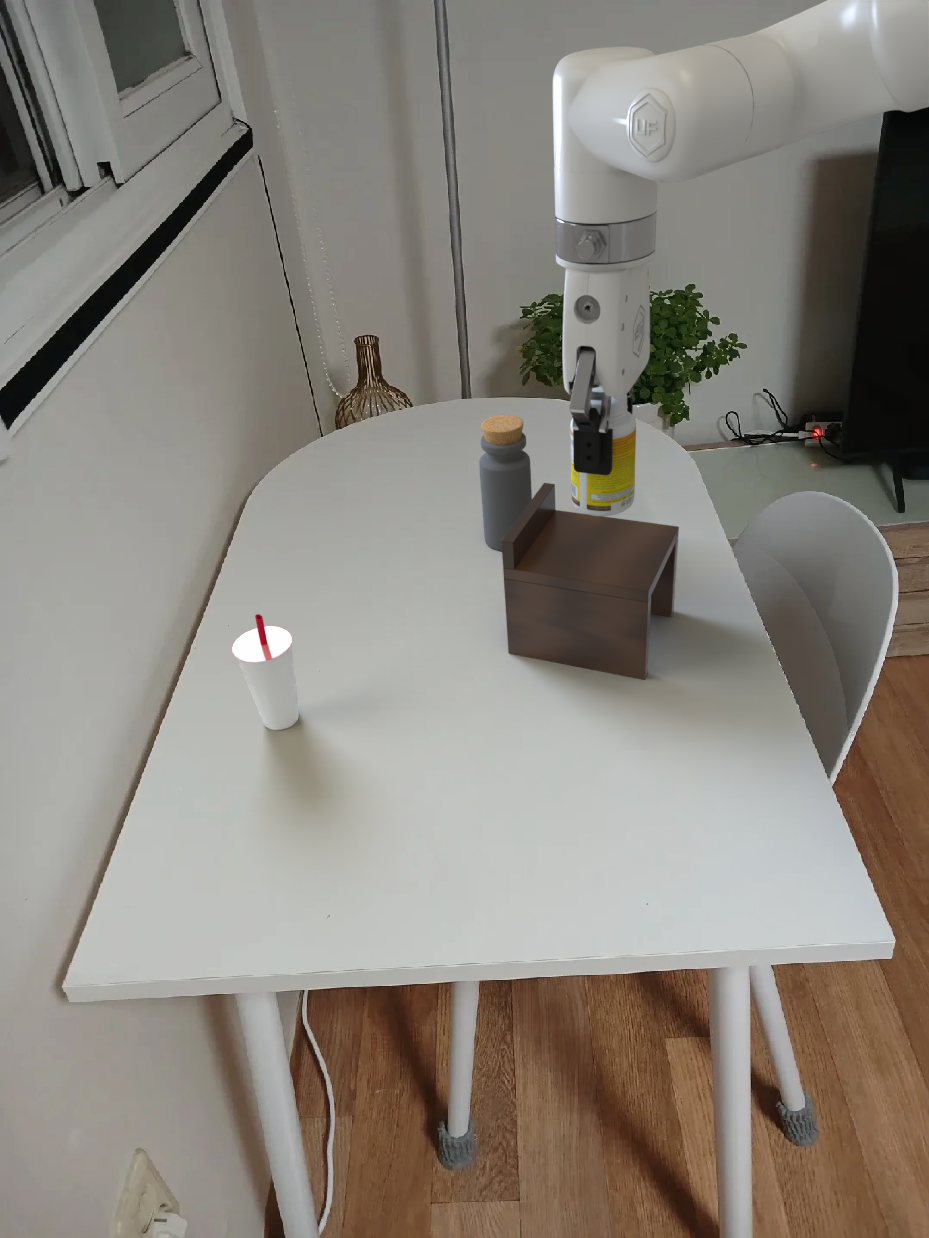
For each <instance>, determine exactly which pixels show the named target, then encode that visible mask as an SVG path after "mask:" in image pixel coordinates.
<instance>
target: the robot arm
mask: <svg viewBox="0 0 929 1238" xmlns="http://www.w3.org/2000/svg"><path fill="white" fill-rule="evenodd" d="M927 108H929V0H825V1H823V2H821V3H818V4H817V5H814V6H811V7H809V8H807V9H805V10H804V11H801V12H799V13H796V14H795V15H792V16H790V17H787V18H785V19H783V20H780V21H779V22H776V23H773V24H772V25H770V26H767V27H764V28H762V29H760V30H757V31H754V32H753V33H749V34H745V35H741V36H735V37H730V38H726V39H721V40H717V41H713V42H712V41H711V42H708V43H702V44H699V45H696V46H691V47H687V48H683V49H679V50H674V51H668V52H665V53H660V54H655V53H654V51H652V50H649V49H647V48H645V47H637V46H612V47H611V46H608V47H607V46H606V47H598V48H597V47H596V48H590V49H589V48H588V49H584V50H579V51H575V52H572V53H569V54H567V55H565V56H564V57H562V58H561V59H560V60H559V61H558V62H557V64H556V66H555V67H554V71H553V76H552V127H553V128H552V129H553V130H552V131H553V132H552V133H553V135H552V136H553V177H554V178H553V182H554V222H555V223H554V224H555V227H554V228H555V229H554V230H555V231H554V232H555V263H557V265H559V266H560V267H563V268H564V269H565V275H564V291H563V306H562V307H563V309H562V310H563V311H562V345H561V347H562V352H561V353H562V355H561V357H562V378H563V387H564V391H565V392H566V393H567V394H568V395H569V396H570V400H569V406H568V407H569V409H568V410H569V413H570V414H571V418H573V425H572V427H573V449H574V470H575V471H576V472H581V473H590V474H598V475H609V474H610V473H611V471H612V453H613V429H608V428H609V419H610V409H611V399H612V397H614V399H621V398H622V397H624V396H625V395H626V394H627V406H628V408H627V411H628V412H630V413H631V414H632V415H633V409H634V405H633V404H634V398H633V397H632V396H633V392H634V385H635V384H636V382H637V380H638V379H639V377H640V376H641V375H642V373H643V371H644V370H645V369H646V366H647V365H648V363H649V360H650V356H651V308H650V307H651V298H650V297H651V295H650V294H651V293H650V291H651V290H650V289H651V288H650V268H649V263H650V262H652V261H653V260H654V259H655V257H656V233H657V212H658V211H657V208H658V207H657V206H658V205H657V204H658V183H668V184H670V183H673V184H674V183H681V182H686V181H689V180H693V179H696V178H698V177H701V176H705V175H707V174H710V173H713V172H716V171H718V170H720V169H722V168H726V167H728V166H731V165H735V164H737V163H740V162H743V161H746V160H749V159H752V158H756V157H758V156H762V155H764V154H768V153H769V152H772V151H775V150H778V149H780V148H783V147H786V146H790V145H792V144H794V143H797V142H799V141H803V140H807V139H808V138H811V137H815V136H817V135H820V134H822V133H823V134H824V133H826V132H828V131H831V130H834V129H837V128H840V127H843V126H846V125H848V124H852V123H854V122H857V121H860V120H864V119H866V118H870V117H872V116H877V115H879V114H883V113H886V112H890V111H901V112H905V113H911V112H912V113H913V112H915V111H919V110H923V109H927ZM594 385H595V386H597V387H602V389H603V391H604V392H594V391H592V388H594ZM591 400H600V401H601V410H600V414H599V412H598V410H597V408H592V404H591Z"/></svg>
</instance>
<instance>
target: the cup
mask: <svg viewBox="0 0 929 1238" xmlns="http://www.w3.org/2000/svg"><path fill="white" fill-rule="evenodd" d="M254 618H255V623H256V628H253V629H250V630H248V631H245V632H244V633H243V634H241V635H240V636H239V637H237V638H236V640H235V641H234V642H233V644H232V647H231V648H232V650H231V651H232V654H233V655H234V657H235V658H236V660H237V663H238V665H239V667H240V670H241V672H242V675H243V677H244V679H245V682H246V684H247V687H248V690H249V692H250V695H251V697H252V699H253V702H254V704H255V706H256V707H255V708H256V709H257V713H259V716H260V719H261V721H262V723H263V725H264V726H265V728H267V729H269V730H272V731H281V730H282V731H283V730H286V729H288V728H291V727H292V726H294V725H295V724H296V723H297V722H298V720H299V716H300V712H299V701H298V691H297V682H296V681H297V680H296V672H295V663H294V654H293V646H292V644H293V635H292V634H291V632H290V631H288V630H287V629H286V628H284V627H280V626H275V625H269V626H268V625H266V626H265V622H264V617H263V615H261V614H260V613H257V614H255V615H254Z"/></svg>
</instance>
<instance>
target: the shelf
mask: <svg viewBox="0 0 929 1238" xmlns="http://www.w3.org/2000/svg"><path fill="white" fill-rule="evenodd" d="M679 531H680V527H679V526H678V525H669V524H663V523H662V524H661V523H655V522H647V521H641V520H634V519H625V518H618V517H612V516H593V515H589V514H585V513H582V512H573V511H567V510H559V509H556V484H555V483H550V482H543V483H542V485H541V486H540V488H538V490H537V491H536V493H535V494H534V496H532V500H531V501H530V503H529V504H528V505H527V507H526V508H525V509H524V511H523V512H522V513H521V515H520V516H519V518H518V519H517V520H516V522H515V523H514V524H513V526H512V527H511V528H510V530H509V531H508V532H507V534H506V535H505V537H504V538H503V539H502V541H501V543H502V551H501V557H502V572H503V573H502V574H503V588H504V605H505V619H506V635H507V637H506V638H507V651H508V654H512V655H516V656H520V657H521V656H522V657H527V658H530V659H531V658H532V659H537V660H543V661H547V662H553V663H558V664H561V665H562V664H563V665H568V666H573V667H577V668H584V669H588V670H593V671H598V672H603V673H607V674H614V675H618V676H623V677H629V678H634V679H639V680H646V678H647V676H648V673H649V657H650V655H649V653H650V630H651V614H652V615H656V616H657V615H658V616H663V617H669V618H671V617H673V614H674V612H675V601H676V600H675V597H676V580H677V566H678V565H677V564H678V551H679V549H678V547H679Z"/></svg>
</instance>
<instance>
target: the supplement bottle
mask: <svg viewBox="0 0 929 1238" xmlns="http://www.w3.org/2000/svg"><path fill="white" fill-rule="evenodd" d="M592 391H594V392H604V391H603V389H602V387H599V386H597V387H593V388H592ZM627 398H628V397H627V394H626V395H625V396H624V397H622V398H621V399H614V397H612V399H611V409H610V419H609V428H608V429H613V453H612V471H611V473H610V474H609V475H598V474H590V473H581V472H576V471H575V470H574V449H573V427H572V425H573V417H571V420H570V424H569V435H570V437H569V439H570V482H571V483H570V487H571V490H570V491H571V494H570V495H571V502H572V505H573V506H574V507H575V508H576V509H577V511H578V512H580V513H582V514H589V515H593V516H604V517H612V516H616V515H619V514H621V513H624V512H626V511H627V510H629V509H630V507H632V505H633V504H634V499H635V489H636V488H635V486H636V448H637V447H636V446H637V445H636V443H637V420H636V418H635V416H634V414H633V413H632V414H631V413H630V412H628V411H627V408H628V406H627ZM591 404H592V408H597V410H598V412H599V414H600V410H601V401H600V400H591Z"/></svg>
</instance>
